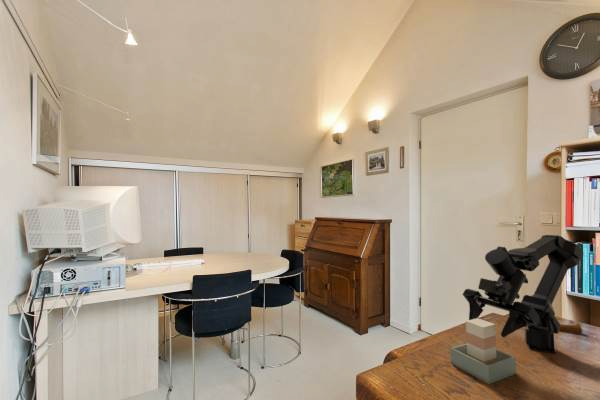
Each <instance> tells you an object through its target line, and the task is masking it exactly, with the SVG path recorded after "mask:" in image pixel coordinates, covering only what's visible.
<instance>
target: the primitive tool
mask: <svg viewBox="0 0 600 400" xmlns="http://www.w3.org/2000/svg"><path fill="white" fill-rule="evenodd" d="M525 328H526V326H525ZM559 332H567V333H572V334H573V333H575V334H577V335H581V336H582V334H583V328H582V327H581V325H580V324H579V323H577V324H561V323H560V331H559Z"/></svg>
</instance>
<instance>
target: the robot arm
mask: <svg viewBox="0 0 600 400" xmlns="http://www.w3.org/2000/svg"><path fill="white" fill-rule="evenodd" d="M546 256H547V258H548V260H549V262H548V265H547V266H546V269H545V270H544V272H543V275H542V276H541V279H540V280H539V283H538V285H537V287H536V289H535V291H534V293H533V294H532V295H529V294H528V295H527V294H525V295H524V296H522V299H521V301H515V300H516V299H517V300H519V299H520V297H521V296H520V294H519V292H520V290H521V288H522V286H523V285H524V284H529V279H528V278H527V273H526V274H525V273H524V272H523V271H526V272H533V271H535V270H536V269H537V268H538V267H539V266H540V260H541V259H543V258H545V257H546ZM583 257H584V251H583V249H582V247H580V245H578V244H577V243H575V242H573V241H570V240H567V239H566V238H564V237H563V236H561V235H556V234H554V235H553V234H544V235H542V236H541V237H540V238H539V239H537V240H535V241H534V242H532V243H531V244H530V243H529V244H528V245H527V246H524V247H523V248H522V247H521V248H519V247H518V248H512V249H509V250H507V248H506V247H505V246H500V245H499V246H497V247H496V248H495V249H492V250H489V252H487V253H486V254H485V256H484V260H485V261H486V262H487V263H486V264H488V265H489V266H490V268H491V269H492V271H493V272H494V273H495V274H496V275H498V279H497V280H492V279H487V278H483V277H481V278H480V280H479V283H478V287H477V288H478V290H481V291H483V292H484V295H485V296H487V297H485V296H483V295H482V293H480V292H479V291H478V290H475V289H470V288H466V289H465V290H464V291H463V293H462V296H463V297H464V298H465V300H466V301H467V302H468V305H469V307H468V308H469V311H468V312H469V313H468V320H472V319H476V318H479V317H480V316H481V314H482V313H483V312H484V309H483V308H485V307H486V305H487V306H489V307H493V308H496V309H500V310H504V311H506V312H509V313H508V318H507V320H506V322H505V324H504V326H503V328H502V331H501V333H500V336H501V337H502V338H505V337H508V336H509V335H511V334H513V333H515V332H516V331H518V330H519V329H520V330H521V329H522V328H524V327H525V326H526V327H525V328H524V331H523V332H524V342H525V344H526V345H527V346H528V348H529V349H530V350H532V351H539V352H544V353H545V352H546V353H551V354H557V350H556V349H555V335H556V334H560V332H561V331H560V324H561V323H560V322H559V321H558V319H557V318H556V316H555V315H556V312H555V310H554V307H553V302H554V300H555V298H556V296H557V294H558V292H559V290H560V287H561V285H562V283H563V281H564V279H565V277H566V274H567V272H568V270H570V269H572V268H574V267H576V266H578V265H579V263H580V261H581V260H582V259H583Z"/></svg>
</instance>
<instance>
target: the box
mask: <svg viewBox="0 0 600 400" xmlns="http://www.w3.org/2000/svg"><path fill="white" fill-rule="evenodd" d="M449 350H450V364H452V365H454V366H455V367H457V368H459V369H461V370H462V371H464V372H466V373H469V374H470V375H472V376H473V377H475V378H477V379H479V380H480V381H483V382H485V383H486V384H488V385H490V384H493V383H495V382H498V381H500V380H503V379H505V378H508V377H510V376H513V375H516V374H517V370H516V367H517V366H516V357H515V356H513V355H511V354H508V353H506V352H503V351H501V350H499V349H497V348H496V356H497V362H496V363H493V364H490V365H486V364H484V363H482V362H479V361H477V360H475V359H473V358H471V357H469V356H467V342H466V343H462V344H459V345H456V346H453V347H450V348H449Z"/></svg>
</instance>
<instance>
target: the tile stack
mask: <svg viewBox="0 0 600 400" xmlns="http://www.w3.org/2000/svg"><path fill="white" fill-rule="evenodd" d="M496 334H497V333H496V324H495V323H493V322H489V321H487V320H484V319H481V318H479V317H478V318H476V319H472V320H469V319H468V320H465V335H466V343H467V356H469V357H471V358H473V359H475V360H477V361H479V362H482V363H484V364H486V365H490V364H493V363H496V362H497V356H496V349H497V337H496V336H497V335H496Z"/></svg>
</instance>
